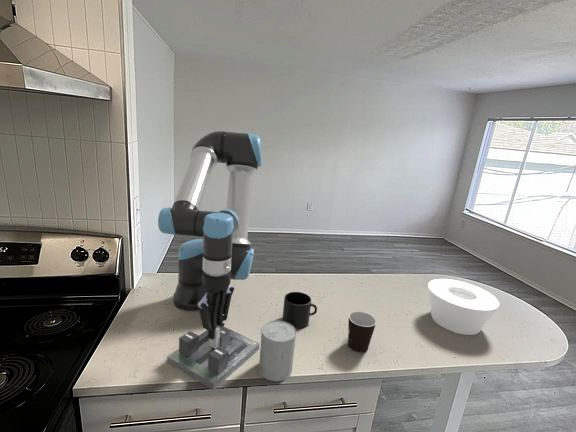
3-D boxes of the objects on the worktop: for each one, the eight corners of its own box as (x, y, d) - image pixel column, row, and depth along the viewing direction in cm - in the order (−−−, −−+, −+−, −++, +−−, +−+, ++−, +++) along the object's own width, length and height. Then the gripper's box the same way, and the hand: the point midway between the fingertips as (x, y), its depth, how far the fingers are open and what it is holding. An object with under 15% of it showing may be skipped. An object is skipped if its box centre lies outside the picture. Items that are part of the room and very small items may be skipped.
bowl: (486, 316, 132) (494, 289, 129) (495, 349, 110) (504, 318, 107) (423, 299, 141) (429, 273, 138) (420, 326, 120) (426, 297, 117)
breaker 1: (179, 351, 92) (179, 337, 91) (189, 344, 95) (190, 330, 94) (187, 356, 90) (188, 342, 89) (198, 349, 94) (198, 335, 93)
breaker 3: (211, 346, 96) (212, 332, 94) (220, 339, 99) (221, 325, 98) (220, 351, 94) (221, 336, 93) (229, 343, 97) (230, 330, 96)
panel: (167, 362, 91) (167, 356, 90) (216, 328, 108) (217, 323, 107) (213, 390, 83) (213, 383, 82) (259, 349, 100) (259, 343, 99)
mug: (318, 329, 112) (321, 305, 110) (283, 328, 111) (285, 305, 109) (313, 314, 121) (315, 292, 119) (281, 313, 120) (283, 291, 118)
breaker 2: (208, 368, 87) (208, 353, 86) (218, 360, 90) (218, 345, 89) (218, 374, 85) (218, 358, 84) (228, 365, 89) (228, 350, 87)
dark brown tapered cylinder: (366, 358, 100) (371, 330, 97) (340, 347, 104) (344, 319, 101) (377, 340, 109) (382, 313, 107) (353, 330, 114) (357, 304, 111)
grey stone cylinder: (258, 356, 96) (261, 320, 93) (290, 357, 97) (294, 321, 94) (258, 381, 87) (261, 341, 84) (294, 381, 88) (298, 342, 85)
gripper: (210, 283, 80) (207, 364, 87) (243, 267, 91) (238, 339, 98) (188, 274, 84) (187, 352, 90) (222, 259, 95) (219, 330, 101)
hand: (214, 345), depth 94 cm, fingers closed
